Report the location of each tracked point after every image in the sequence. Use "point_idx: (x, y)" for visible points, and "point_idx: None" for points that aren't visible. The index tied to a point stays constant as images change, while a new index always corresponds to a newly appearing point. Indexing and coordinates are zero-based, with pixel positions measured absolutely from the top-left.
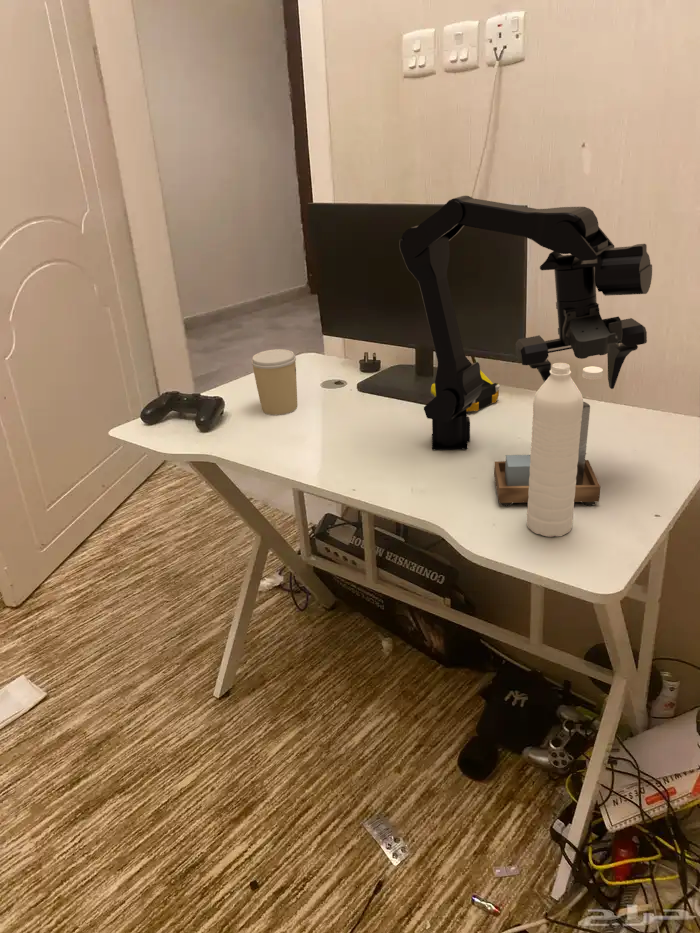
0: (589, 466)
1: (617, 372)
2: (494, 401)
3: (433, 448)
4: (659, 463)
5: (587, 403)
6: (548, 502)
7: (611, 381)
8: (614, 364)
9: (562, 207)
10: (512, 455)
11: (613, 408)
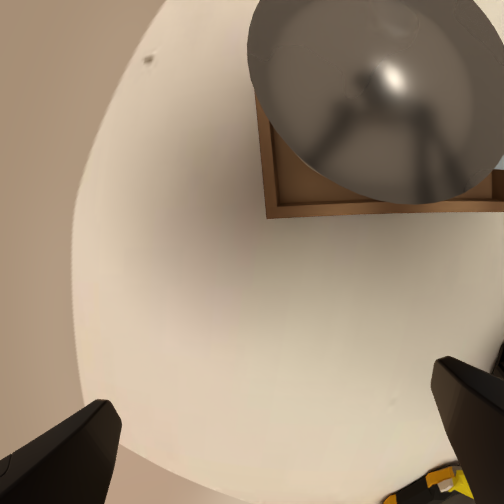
0: (267, 174)
1: (30, 447)
2: (391, 497)
3: None
4: (116, 285)
5: (263, 109)
6: None
7: (86, 424)
8: (9, 487)
9: None
10: (502, 165)
11: (194, 474)
